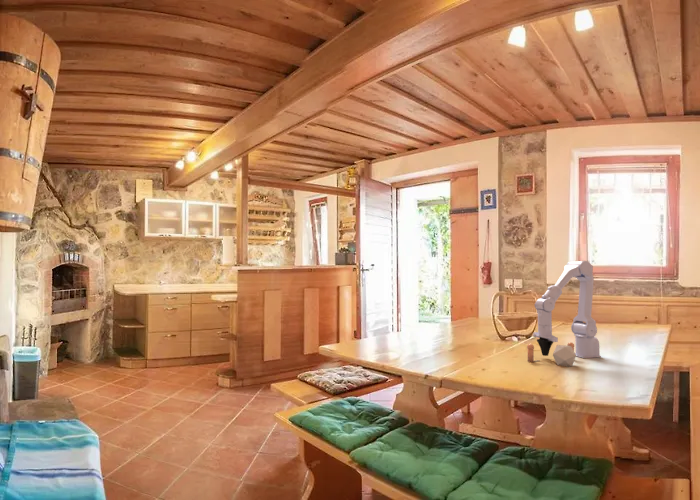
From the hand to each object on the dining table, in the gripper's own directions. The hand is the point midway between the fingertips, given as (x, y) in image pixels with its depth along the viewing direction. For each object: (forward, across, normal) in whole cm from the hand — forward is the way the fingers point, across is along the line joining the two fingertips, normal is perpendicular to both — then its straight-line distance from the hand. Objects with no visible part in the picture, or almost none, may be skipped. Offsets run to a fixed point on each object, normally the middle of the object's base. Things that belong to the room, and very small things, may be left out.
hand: (545, 355), depth 191 cm
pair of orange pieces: (+1, +4, 0) cm, 4 cm away
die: (+2, +13, 0) cm, 13 cm away
